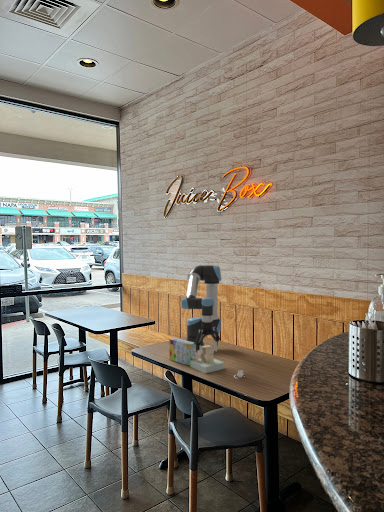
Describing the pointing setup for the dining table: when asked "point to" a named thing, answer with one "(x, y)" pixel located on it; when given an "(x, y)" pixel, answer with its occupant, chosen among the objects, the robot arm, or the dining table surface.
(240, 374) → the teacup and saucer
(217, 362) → the sage base plate
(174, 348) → the snack box
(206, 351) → the maple block
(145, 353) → the dining table surface
